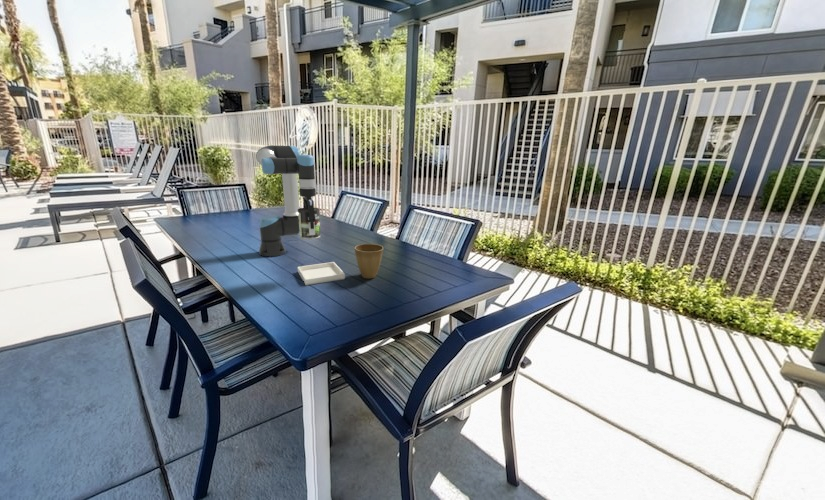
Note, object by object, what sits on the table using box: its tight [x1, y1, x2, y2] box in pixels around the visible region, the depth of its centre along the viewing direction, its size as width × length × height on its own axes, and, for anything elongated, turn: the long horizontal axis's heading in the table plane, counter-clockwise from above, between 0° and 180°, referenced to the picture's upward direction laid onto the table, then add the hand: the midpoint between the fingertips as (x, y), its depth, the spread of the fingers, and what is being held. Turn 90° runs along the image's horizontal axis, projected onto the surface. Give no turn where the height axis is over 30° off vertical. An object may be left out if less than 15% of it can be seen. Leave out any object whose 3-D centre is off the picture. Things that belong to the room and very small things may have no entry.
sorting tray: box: [297, 261, 346, 286], centre depth 180 cm, size 20×20×3 cm
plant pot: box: [354, 243, 384, 279], centre depth 179 cm, size 15×15×16 cm
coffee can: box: [298, 207, 322, 240], centre depth 170 cm, size 10×10×14 cm
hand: (310, 232), depth 171 cm, fingers closed on coffee can, 10 cm apart
